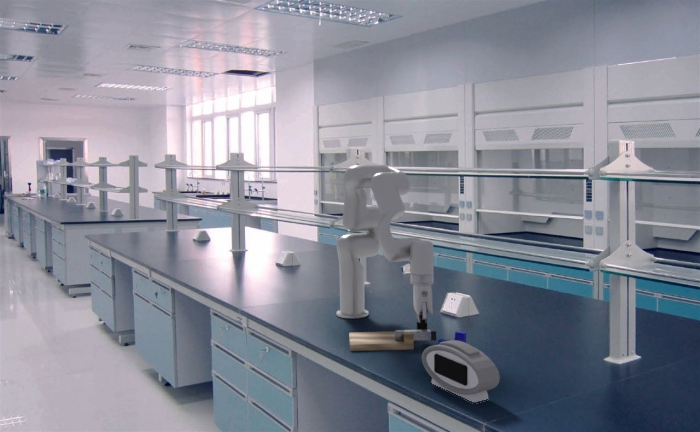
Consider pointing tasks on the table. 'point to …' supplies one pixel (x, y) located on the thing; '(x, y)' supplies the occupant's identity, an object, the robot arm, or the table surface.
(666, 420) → the table surface
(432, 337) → the folding leg
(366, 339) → the stool seat
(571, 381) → the table surface
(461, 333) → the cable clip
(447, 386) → the alarm clock
